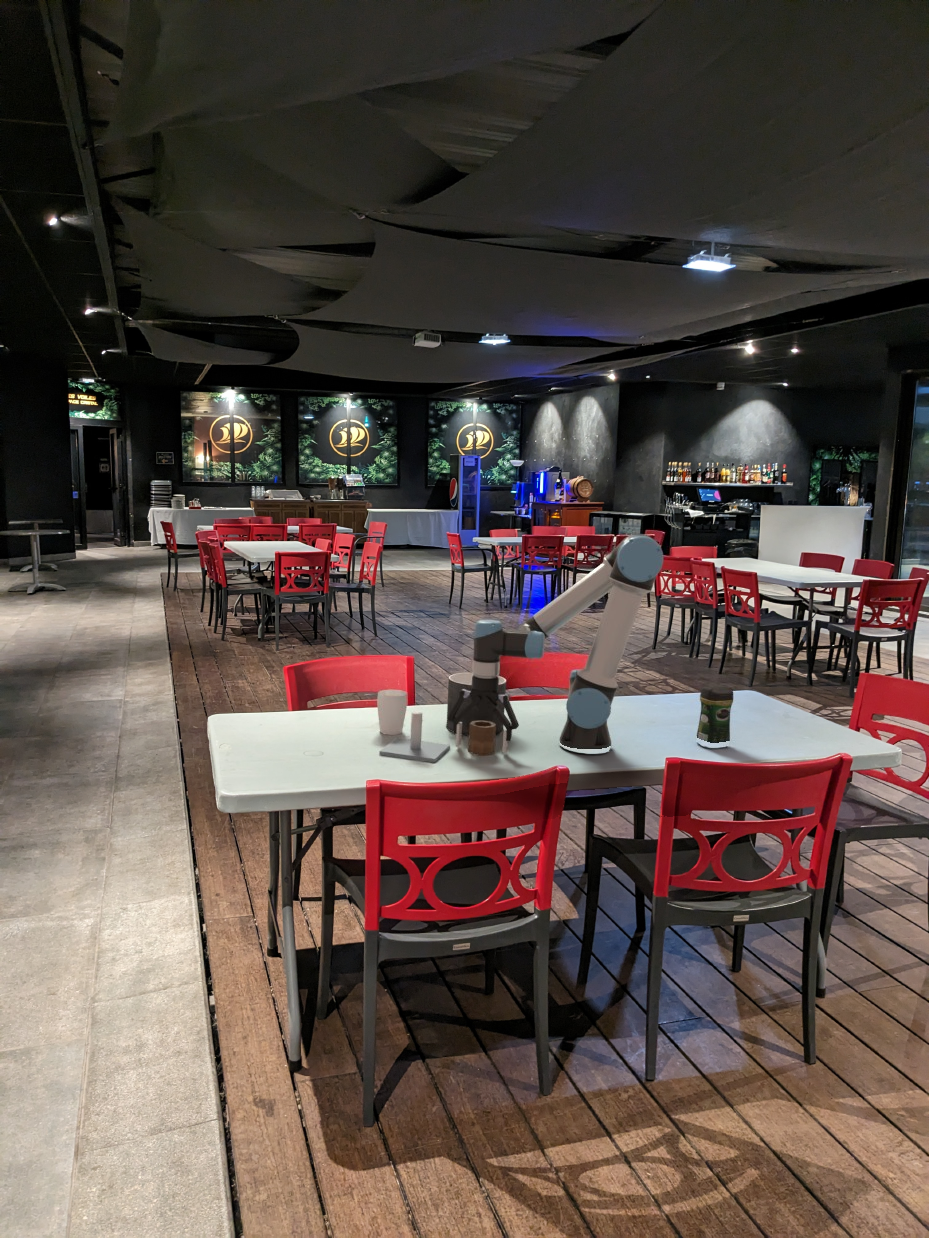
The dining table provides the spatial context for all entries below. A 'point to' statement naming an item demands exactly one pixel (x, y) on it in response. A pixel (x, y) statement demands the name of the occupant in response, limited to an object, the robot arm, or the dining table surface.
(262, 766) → the dining table surface
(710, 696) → the coffee jar
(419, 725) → the post block
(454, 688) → the planter
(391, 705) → the cup
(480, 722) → the collar
